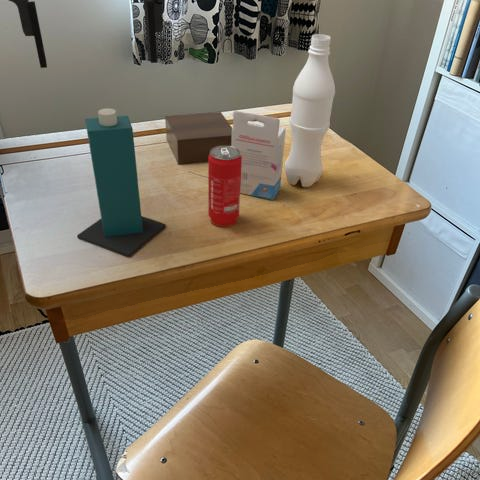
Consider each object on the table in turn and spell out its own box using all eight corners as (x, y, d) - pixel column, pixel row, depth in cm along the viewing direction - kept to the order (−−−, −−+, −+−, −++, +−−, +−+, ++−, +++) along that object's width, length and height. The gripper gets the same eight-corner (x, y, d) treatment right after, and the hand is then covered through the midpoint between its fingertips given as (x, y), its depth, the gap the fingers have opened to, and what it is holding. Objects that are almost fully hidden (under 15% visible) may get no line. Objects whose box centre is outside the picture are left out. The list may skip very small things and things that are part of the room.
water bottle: (278, 185, 96) (294, 39, 79) (288, 169, 102) (304, 28, 85) (315, 193, 95) (339, 45, 78) (323, 176, 100) (347, 34, 83)
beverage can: (210, 229, 85) (211, 160, 76) (206, 212, 88) (206, 145, 80) (241, 226, 86) (245, 158, 77) (235, 210, 89) (238, 144, 81)
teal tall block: (131, 116, 69) (126, 104, 72) (85, 119, 68) (83, 107, 71) (143, 232, 82) (138, 218, 85) (104, 237, 80) (101, 222, 84)
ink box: (280, 188, 96) (289, 108, 86) (273, 201, 92) (281, 119, 82) (238, 179, 98) (241, 100, 88) (229, 191, 94) (231, 110, 84)
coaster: (77, 238, 81) (77, 235, 81) (117, 210, 88) (116, 207, 87) (129, 257, 78) (128, 254, 77) (165, 227, 84) (165, 223, 84)
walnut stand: (166, 139, 109) (165, 116, 106) (220, 134, 112) (220, 111, 109) (178, 164, 101) (177, 140, 98) (236, 158, 104) (237, 134, 101)
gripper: (-74, -177, 45) (-7, 76, 60) (200, -159, 51) (201, 66, 66) (-65, -176, 50) (-5, 56, 65) (184, -160, 57) (188, 49, 71)
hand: (99, 62), depth 65 cm, fingers open, 13 cm apart
